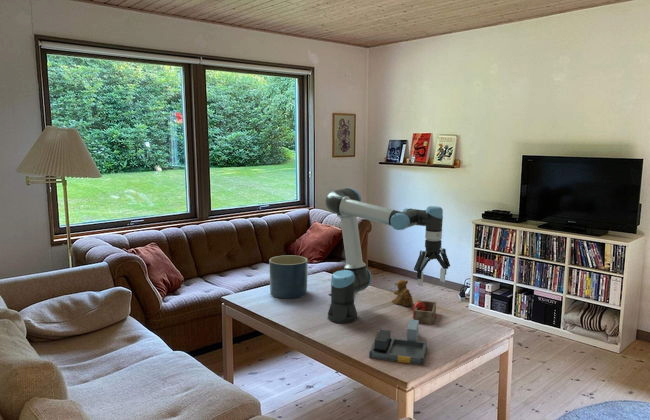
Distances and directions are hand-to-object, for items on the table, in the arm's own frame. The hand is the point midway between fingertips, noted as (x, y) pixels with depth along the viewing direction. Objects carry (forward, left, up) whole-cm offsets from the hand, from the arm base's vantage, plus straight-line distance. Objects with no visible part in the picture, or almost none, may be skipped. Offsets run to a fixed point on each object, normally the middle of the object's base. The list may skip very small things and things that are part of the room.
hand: (431, 283), depth 234 cm
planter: (-83, +29, -22) cm, 91 cm away
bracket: (-3, +13, -22) cm, 26 cm away
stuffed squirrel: (-16, +30, -22) cm, 41 cm away
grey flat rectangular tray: (-10, -32, -22) cm, 40 cm away
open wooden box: (-3, +13, -22) cm, 26 cm away
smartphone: (-53, +38, -23) cm, 69 cm away
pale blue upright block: (-6, -16, -22) cm, 28 cm away
